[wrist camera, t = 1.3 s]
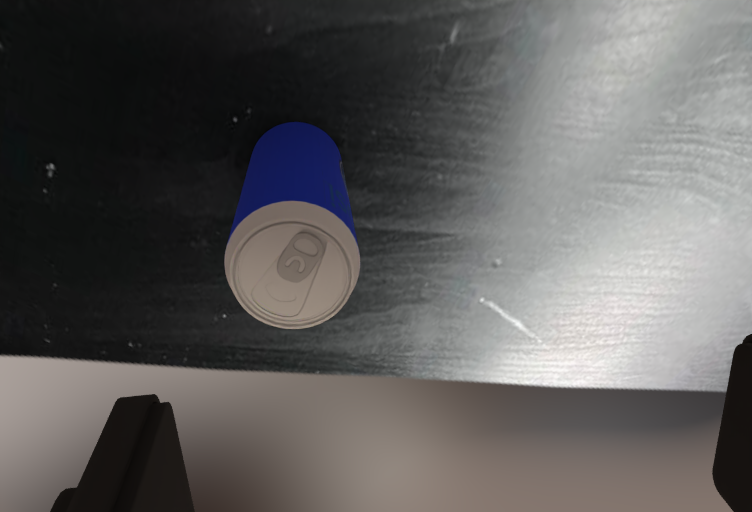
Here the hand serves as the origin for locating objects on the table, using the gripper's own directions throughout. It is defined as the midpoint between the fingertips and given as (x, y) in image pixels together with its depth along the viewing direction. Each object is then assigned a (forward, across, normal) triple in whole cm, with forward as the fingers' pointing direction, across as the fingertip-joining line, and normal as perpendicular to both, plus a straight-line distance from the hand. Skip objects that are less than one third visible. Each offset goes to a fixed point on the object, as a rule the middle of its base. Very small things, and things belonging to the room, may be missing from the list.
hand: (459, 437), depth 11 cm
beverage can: (+29, +4, +3) cm, 29 cm away
